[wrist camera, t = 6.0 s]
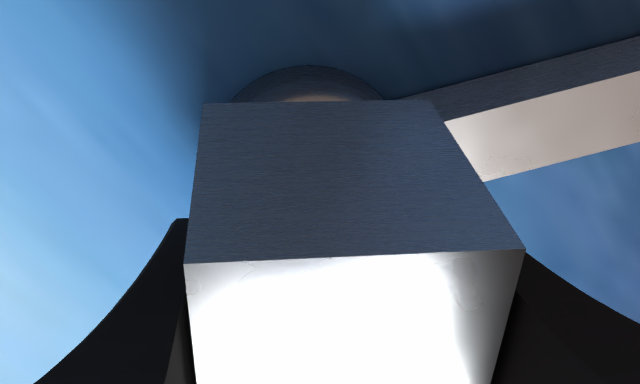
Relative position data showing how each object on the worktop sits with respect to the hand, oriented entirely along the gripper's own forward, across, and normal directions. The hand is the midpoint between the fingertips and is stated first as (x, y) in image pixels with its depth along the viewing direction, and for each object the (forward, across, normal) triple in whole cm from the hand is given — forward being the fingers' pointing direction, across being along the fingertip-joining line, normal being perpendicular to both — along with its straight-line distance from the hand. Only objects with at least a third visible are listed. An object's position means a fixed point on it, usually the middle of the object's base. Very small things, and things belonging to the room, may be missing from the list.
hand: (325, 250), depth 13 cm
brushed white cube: (+2, 0, 0) cm, 2 cm away
